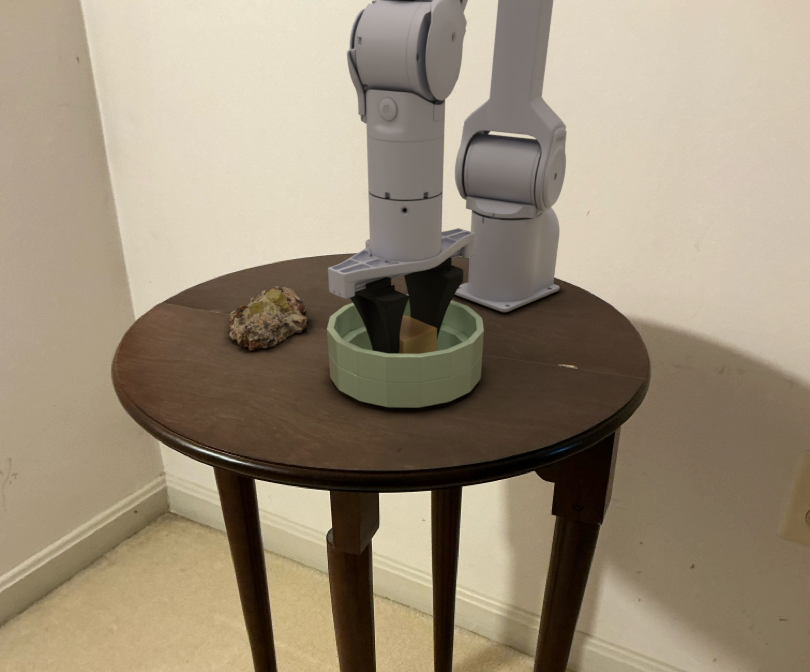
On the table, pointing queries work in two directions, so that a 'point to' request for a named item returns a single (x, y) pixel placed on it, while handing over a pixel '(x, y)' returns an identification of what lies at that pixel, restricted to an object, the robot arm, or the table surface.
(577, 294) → the table surface
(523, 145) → the robot arm
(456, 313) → the bowl
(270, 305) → the mineral rock
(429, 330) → the block
